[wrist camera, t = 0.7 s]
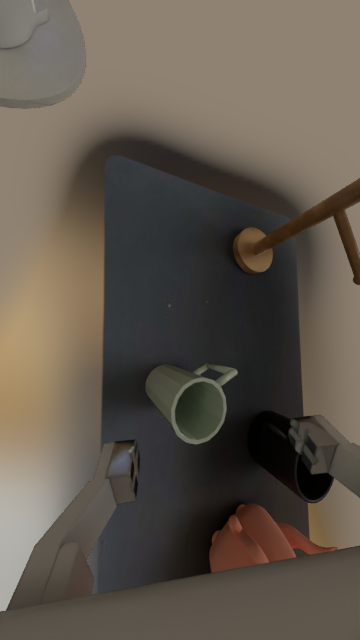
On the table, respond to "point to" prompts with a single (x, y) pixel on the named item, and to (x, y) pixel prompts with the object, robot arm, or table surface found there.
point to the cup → (189, 400)
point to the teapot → (256, 540)
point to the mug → (284, 457)
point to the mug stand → (257, 247)
